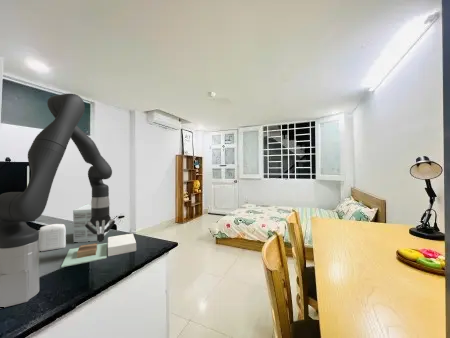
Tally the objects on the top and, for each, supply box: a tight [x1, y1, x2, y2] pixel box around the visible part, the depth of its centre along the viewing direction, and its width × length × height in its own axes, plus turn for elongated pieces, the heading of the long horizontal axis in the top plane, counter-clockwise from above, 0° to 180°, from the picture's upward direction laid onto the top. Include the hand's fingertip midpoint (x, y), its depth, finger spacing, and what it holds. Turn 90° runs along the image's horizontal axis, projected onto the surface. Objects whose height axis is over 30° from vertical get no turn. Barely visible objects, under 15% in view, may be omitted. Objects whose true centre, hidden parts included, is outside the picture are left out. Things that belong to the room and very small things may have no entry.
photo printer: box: [38, 223, 67, 252], centre depth 100 cm, size 10×4×12 cm, turn 123°
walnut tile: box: [77, 242, 98, 258], centre depth 94 cm, size 9×7×2 cm
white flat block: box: [107, 232, 137, 257], centre depth 101 cm, size 16×12×4 cm
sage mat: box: [60, 242, 108, 268], centre depth 94 cm, size 20×16×1 cm
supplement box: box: [72, 203, 110, 243], centre depth 117 cm, size 17×13×18 cm
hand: (100, 241), depth 97 cm, fingers closed
